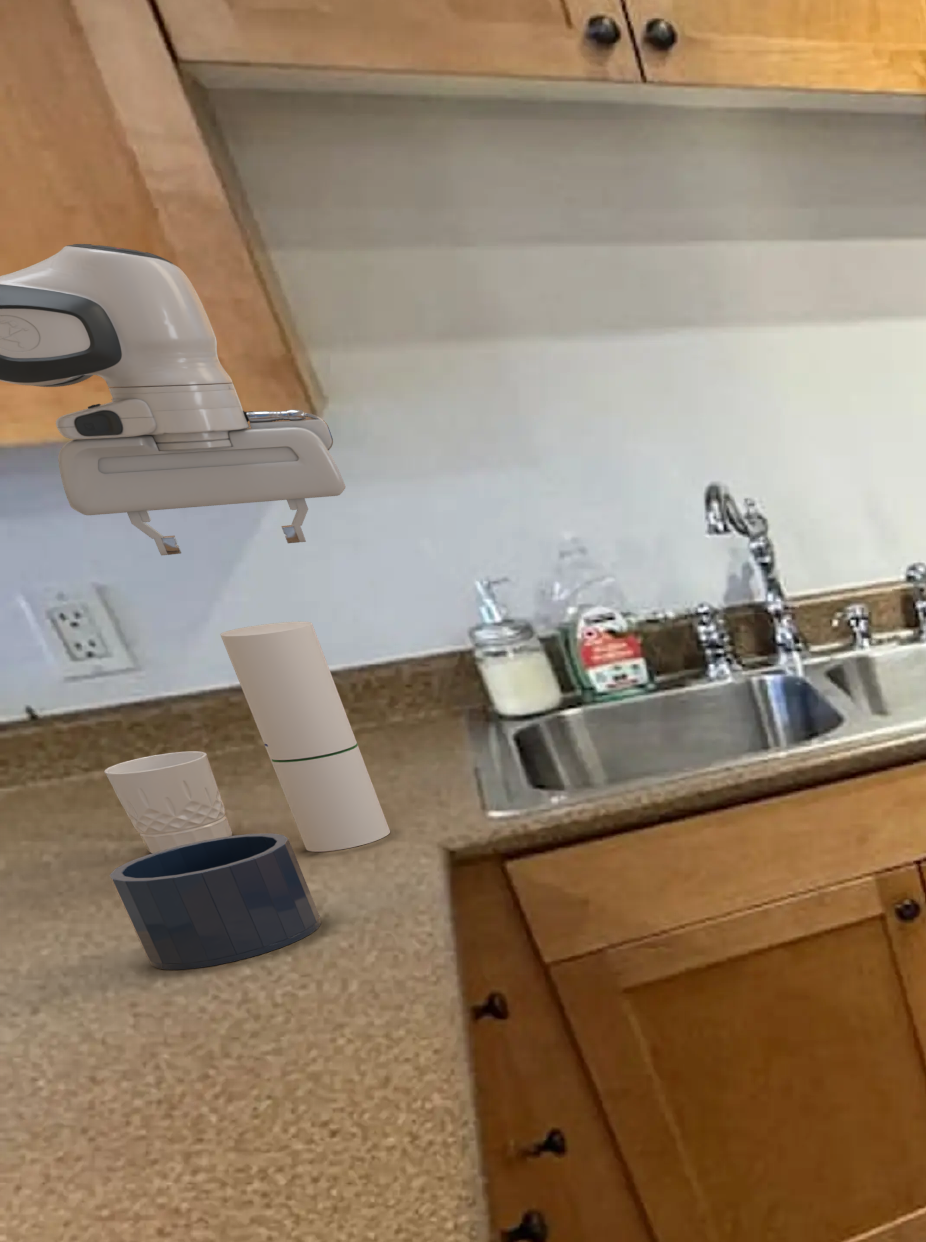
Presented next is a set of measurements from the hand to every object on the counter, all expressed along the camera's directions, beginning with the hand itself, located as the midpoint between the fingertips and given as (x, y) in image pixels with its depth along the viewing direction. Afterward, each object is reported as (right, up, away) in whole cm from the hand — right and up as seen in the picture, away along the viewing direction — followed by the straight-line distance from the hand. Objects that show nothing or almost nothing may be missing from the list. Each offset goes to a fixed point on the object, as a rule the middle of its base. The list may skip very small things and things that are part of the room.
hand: (235, 548), depth 140 cm
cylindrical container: (+1, -32, +12) cm, 34 cm away
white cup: (-17, -32, +11) cm, 38 cm away
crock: (+15, -41, -14) cm, 45 cm away
